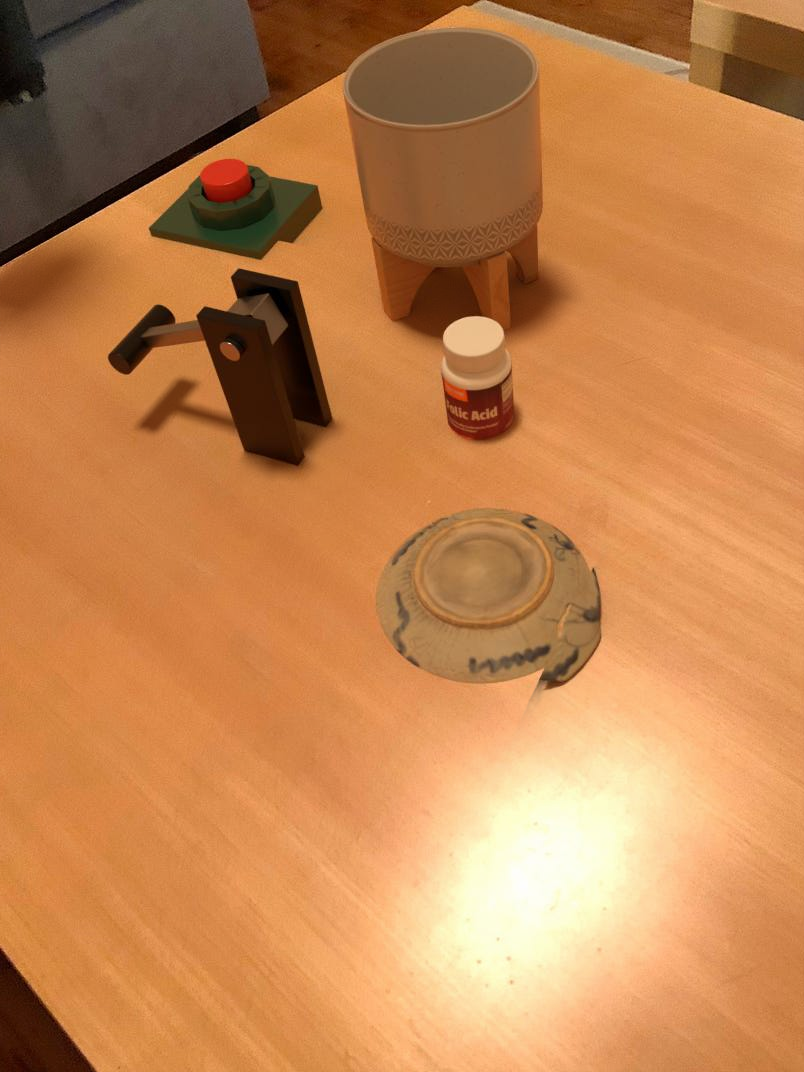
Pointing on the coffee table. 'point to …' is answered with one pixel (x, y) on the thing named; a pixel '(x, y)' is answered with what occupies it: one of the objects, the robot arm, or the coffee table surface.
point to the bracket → (267, 369)
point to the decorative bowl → (490, 599)
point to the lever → (185, 330)
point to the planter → (448, 160)
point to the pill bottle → (477, 378)
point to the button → (226, 180)
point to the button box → (241, 216)
